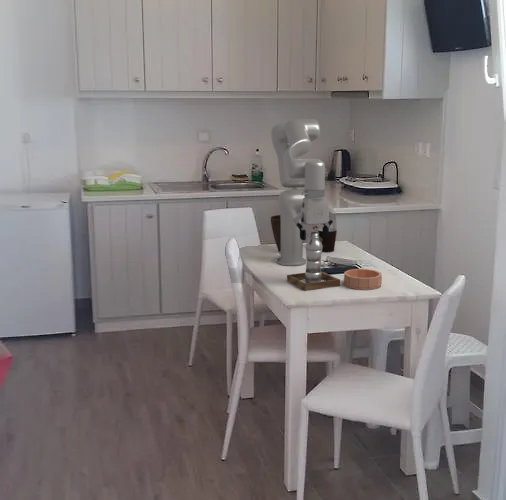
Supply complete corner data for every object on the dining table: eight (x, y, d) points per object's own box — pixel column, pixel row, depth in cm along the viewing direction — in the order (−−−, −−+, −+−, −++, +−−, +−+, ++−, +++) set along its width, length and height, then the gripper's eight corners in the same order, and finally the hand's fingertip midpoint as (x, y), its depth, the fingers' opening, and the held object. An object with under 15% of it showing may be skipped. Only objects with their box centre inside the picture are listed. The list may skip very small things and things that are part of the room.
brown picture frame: (287, 281, 274) (287, 274, 274) (320, 276, 281) (320, 270, 280) (305, 290, 261) (305, 284, 261) (340, 285, 267) (340, 279, 267)
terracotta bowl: (337, 282, 272) (337, 271, 271) (367, 278, 278) (367, 267, 277) (357, 291, 259) (357, 280, 258) (388, 287, 265) (388, 275, 264)
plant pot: (265, 249, 328) (265, 215, 325) (294, 246, 334) (294, 213, 330) (278, 256, 315) (278, 221, 311) (308, 253, 320) (308, 218, 316)
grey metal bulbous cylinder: (303, 281, 274) (303, 231, 269) (320, 281, 274) (321, 231, 270) (305, 286, 267) (306, 234, 263) (323, 285, 268) (324, 234, 263)
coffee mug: (337, 252, 321) (337, 231, 318) (318, 252, 321) (318, 231, 318) (334, 247, 332) (335, 226, 330) (316, 247, 332) (316, 226, 330)
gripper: (299, 196, 256) (298, 242, 259) (339, 193, 263) (338, 238, 266) (289, 194, 263) (289, 239, 266) (329, 191, 270) (328, 235, 273)
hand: (314, 238), depth 266 cm, fingers open, 9 cm apart
